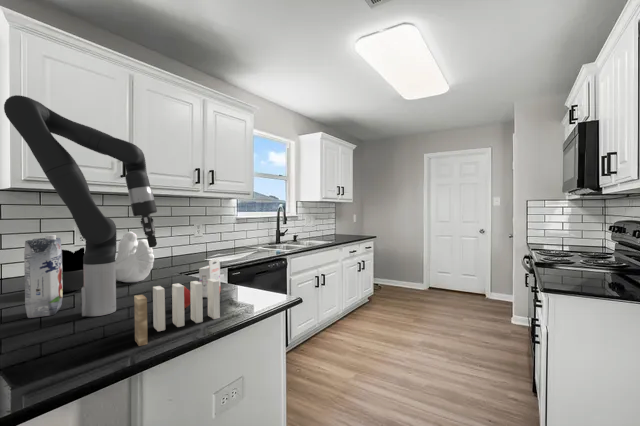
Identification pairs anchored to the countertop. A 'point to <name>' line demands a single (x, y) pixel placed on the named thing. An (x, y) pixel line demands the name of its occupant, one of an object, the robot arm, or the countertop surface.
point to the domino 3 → (196, 301)
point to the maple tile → (140, 319)
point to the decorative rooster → (133, 259)
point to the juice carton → (43, 276)
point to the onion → (186, 297)
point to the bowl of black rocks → (72, 270)
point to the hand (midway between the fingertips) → (153, 246)
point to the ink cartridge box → (209, 275)
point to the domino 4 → (213, 298)
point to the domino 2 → (178, 304)
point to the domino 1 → (159, 308)
